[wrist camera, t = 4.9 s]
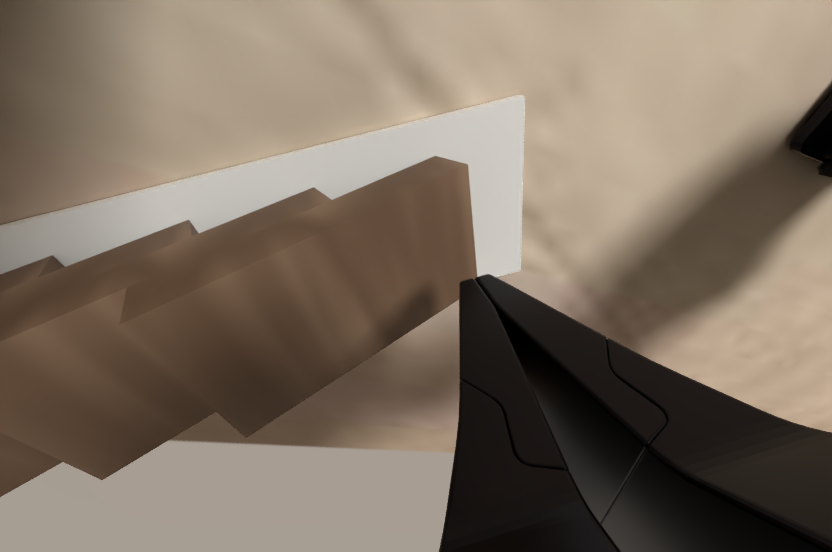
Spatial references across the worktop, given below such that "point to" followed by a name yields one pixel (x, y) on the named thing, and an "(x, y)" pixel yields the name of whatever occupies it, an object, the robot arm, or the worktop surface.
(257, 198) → the rack
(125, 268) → the domino
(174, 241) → the domino
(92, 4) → the worktop surface
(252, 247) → the domino
